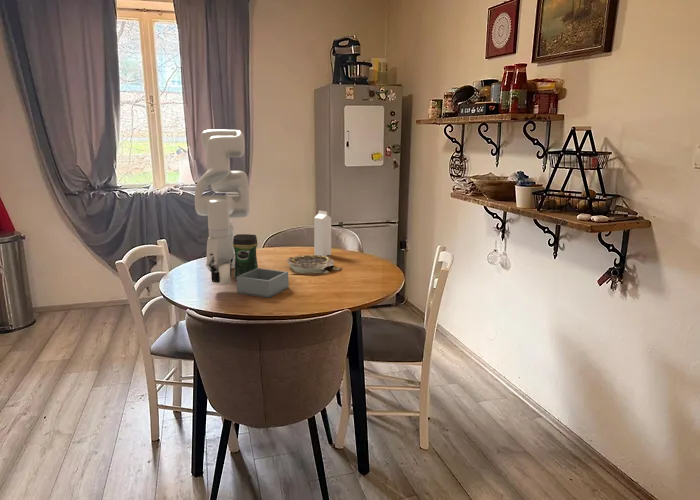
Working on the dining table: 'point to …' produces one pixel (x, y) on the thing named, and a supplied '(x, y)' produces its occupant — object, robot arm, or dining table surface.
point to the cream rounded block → (224, 273)
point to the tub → (262, 282)
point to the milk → (322, 234)
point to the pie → (311, 264)
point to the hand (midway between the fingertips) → (221, 278)
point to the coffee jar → (245, 253)
